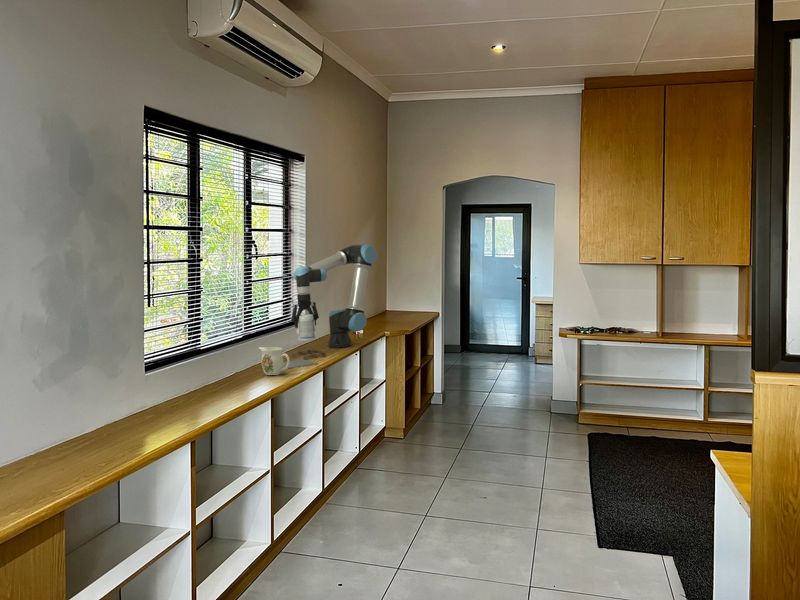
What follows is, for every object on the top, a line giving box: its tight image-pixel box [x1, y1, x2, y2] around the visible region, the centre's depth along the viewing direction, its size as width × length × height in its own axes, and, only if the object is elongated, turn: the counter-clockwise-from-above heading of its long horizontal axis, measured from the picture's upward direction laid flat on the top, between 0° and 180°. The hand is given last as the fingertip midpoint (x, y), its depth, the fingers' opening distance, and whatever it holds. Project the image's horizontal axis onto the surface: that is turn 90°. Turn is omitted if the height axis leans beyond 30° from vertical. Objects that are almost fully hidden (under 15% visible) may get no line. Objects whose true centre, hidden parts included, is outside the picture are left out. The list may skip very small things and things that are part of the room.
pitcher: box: [257, 346, 291, 376], centre depth 349 cm, size 11×18×14 cm, turn 68°
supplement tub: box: [297, 313, 316, 342], centre depth 398 cm, size 10×10×15 cm
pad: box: [283, 358, 319, 369], centre depth 377 cm, size 18×18×1 cm
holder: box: [290, 348, 327, 360], centre depth 400 cm, size 14×16×2 cm
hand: (306, 332), depth 399 cm, fingers closed on supplement tub, 9 cm apart
